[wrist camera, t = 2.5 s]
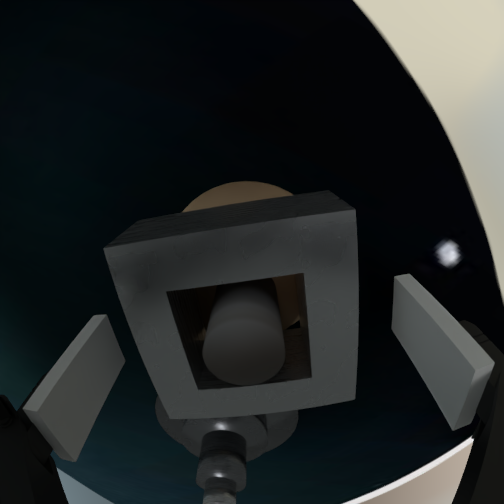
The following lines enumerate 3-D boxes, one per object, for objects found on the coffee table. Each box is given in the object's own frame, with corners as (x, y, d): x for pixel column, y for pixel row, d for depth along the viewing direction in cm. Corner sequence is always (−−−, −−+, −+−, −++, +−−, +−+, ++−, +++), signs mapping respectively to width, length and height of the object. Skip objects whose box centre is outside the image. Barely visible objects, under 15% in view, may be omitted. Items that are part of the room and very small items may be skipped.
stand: (151, 197, 18) (76, 246, 10) (320, 170, 18) (378, 199, 9) (188, 338, 22) (160, 439, 13) (331, 319, 21) (369, 417, 13)
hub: (136, 368, 23) (97, 463, 14) (291, 355, 22) (309, 464, 13) (180, 453, 27) (166, 532, 18) (301, 446, 26) (311, 530, 17)
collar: (138, 220, 15) (103, 248, 11) (328, 190, 14) (355, 209, 10) (183, 369, 18) (169, 418, 14) (337, 350, 17) (354, 399, 13)
